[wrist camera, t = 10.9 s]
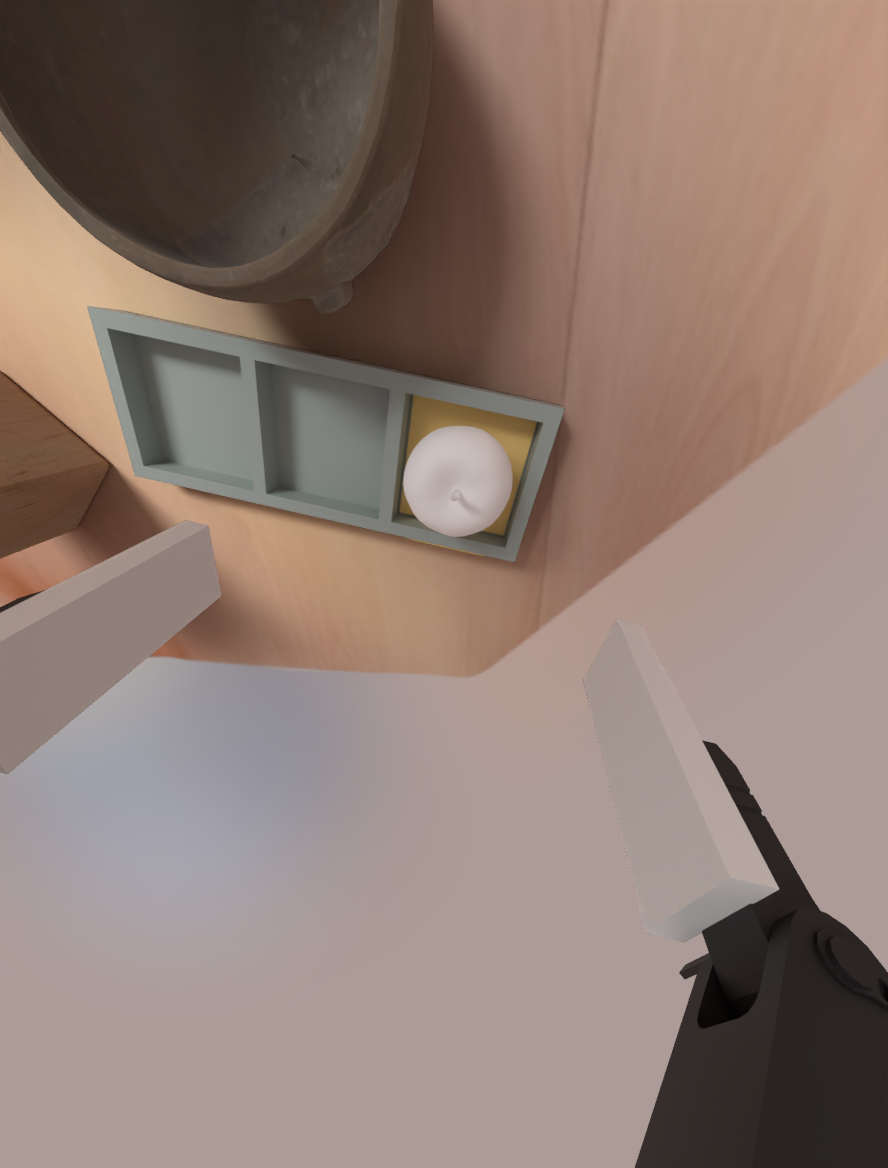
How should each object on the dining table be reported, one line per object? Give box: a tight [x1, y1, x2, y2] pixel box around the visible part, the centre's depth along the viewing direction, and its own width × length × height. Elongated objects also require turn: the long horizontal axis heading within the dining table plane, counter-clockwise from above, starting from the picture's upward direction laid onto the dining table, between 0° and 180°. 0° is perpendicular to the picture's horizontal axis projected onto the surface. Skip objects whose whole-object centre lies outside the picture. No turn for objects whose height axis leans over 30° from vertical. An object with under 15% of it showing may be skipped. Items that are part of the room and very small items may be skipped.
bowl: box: [0, 0, 433, 314], centre depth 15 cm, size 17×18×10 cm
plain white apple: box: [403, 426, 513, 537], centre depth 23 cm, size 7×7×8 cm
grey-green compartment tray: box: [87, 306, 565, 562], centre depth 27 cm, size 11×31×3 cm, turn 80°
